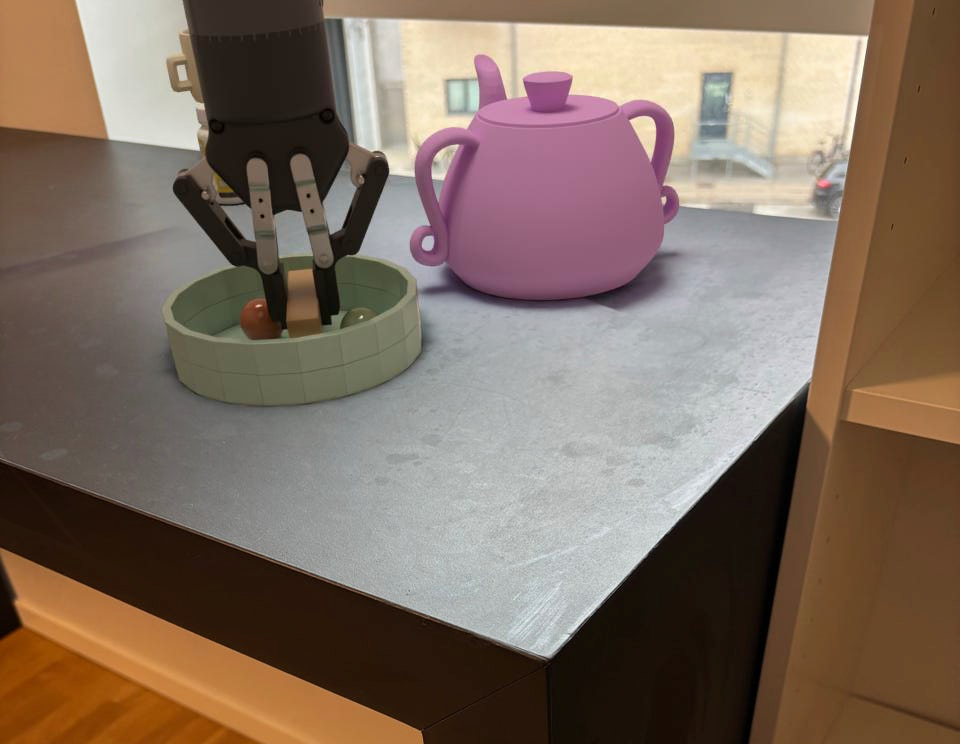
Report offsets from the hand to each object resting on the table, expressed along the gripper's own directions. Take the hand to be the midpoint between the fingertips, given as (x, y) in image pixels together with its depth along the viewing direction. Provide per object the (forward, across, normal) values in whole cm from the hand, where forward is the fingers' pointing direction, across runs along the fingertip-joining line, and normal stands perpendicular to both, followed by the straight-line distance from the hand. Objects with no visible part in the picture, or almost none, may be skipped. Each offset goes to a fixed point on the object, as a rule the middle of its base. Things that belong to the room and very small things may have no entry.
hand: (307, 322), depth 67 cm
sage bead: (0, +2, -3) cm, 4 cm away
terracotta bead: (+1, -2, +2) cm, 4 cm away
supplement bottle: (+2, -8, +42) cm, 42 cm away
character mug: (+2, -8, +54) cm, 55 cm away
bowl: (+2, -1, 0) cm, 3 cm away
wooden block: (0, 0, 0) cm, 0 cm away
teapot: (+3, +18, +14) cm, 22 cm away
